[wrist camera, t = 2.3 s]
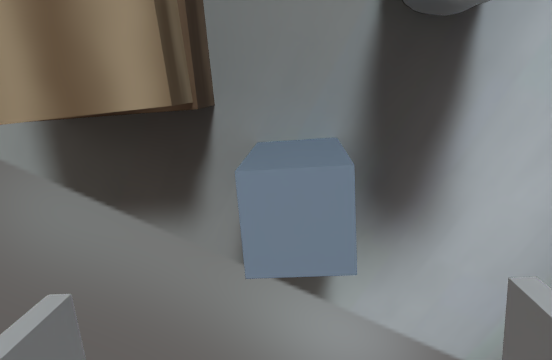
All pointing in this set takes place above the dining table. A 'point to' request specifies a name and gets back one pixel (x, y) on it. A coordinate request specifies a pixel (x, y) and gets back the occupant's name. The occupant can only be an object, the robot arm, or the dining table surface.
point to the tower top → (89, 58)
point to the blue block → (297, 209)
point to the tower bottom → (196, 62)
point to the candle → (442, 6)
